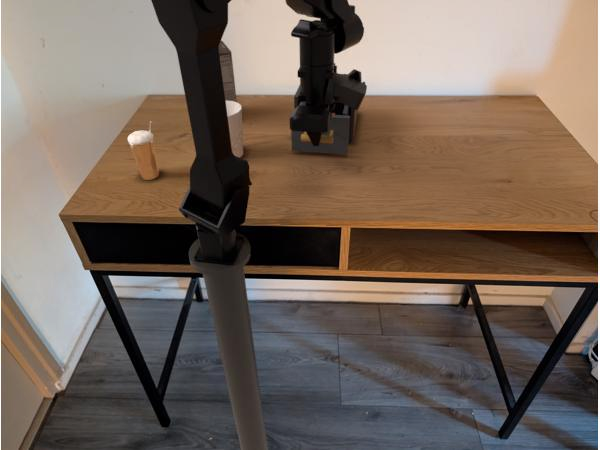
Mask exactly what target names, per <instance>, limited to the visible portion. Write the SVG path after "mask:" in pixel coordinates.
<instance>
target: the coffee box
mask: <svg viewBox="0 0 600 450" xmlns="http://www.w3.org/2000/svg"><path fill="white" fill-rule="evenodd" d="M219 54H220V62H221V70H222V78H223V85H224V93H225V101H234V102H237V91H236V82H235V72H234V63H233V56H232V55H233V54H232V50H230V48H229V47H228V46H227V44H225V42H224V41H223V40H221V41H220V44H219ZM237 103H238V102H237Z"/></svg>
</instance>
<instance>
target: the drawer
mask: <svg viewBox="0 0 600 450" xmlns="http://www.w3.org/2000/svg"><path fill="white" fill-rule="evenodd" d="M303 102H304V101H301V102H300V104H299V105H301V106H302V104H303ZM333 103H334V104H335V107H334V110H333V112H331V113H335V115H332V118H331V120H330V124H329V128H328V132H325V133H322V135H321V140H320V144H319V146H313V144H312V142H311V140H310V138H309V137H308V135H307V133H306V132H301V131H292V130H291V129H290V131H291V132H290V134H291V136H290V137H291V138H290V139H291V151H295V152H308V153H319V154H321V153H323V154H336V155H348V152H349V142H348V140H349V124H350V107H349V106H347V105H344V104H342V103H337V102H333ZM292 113H293V111H292V112H291V113H290V116H291V115H292Z"/></svg>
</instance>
